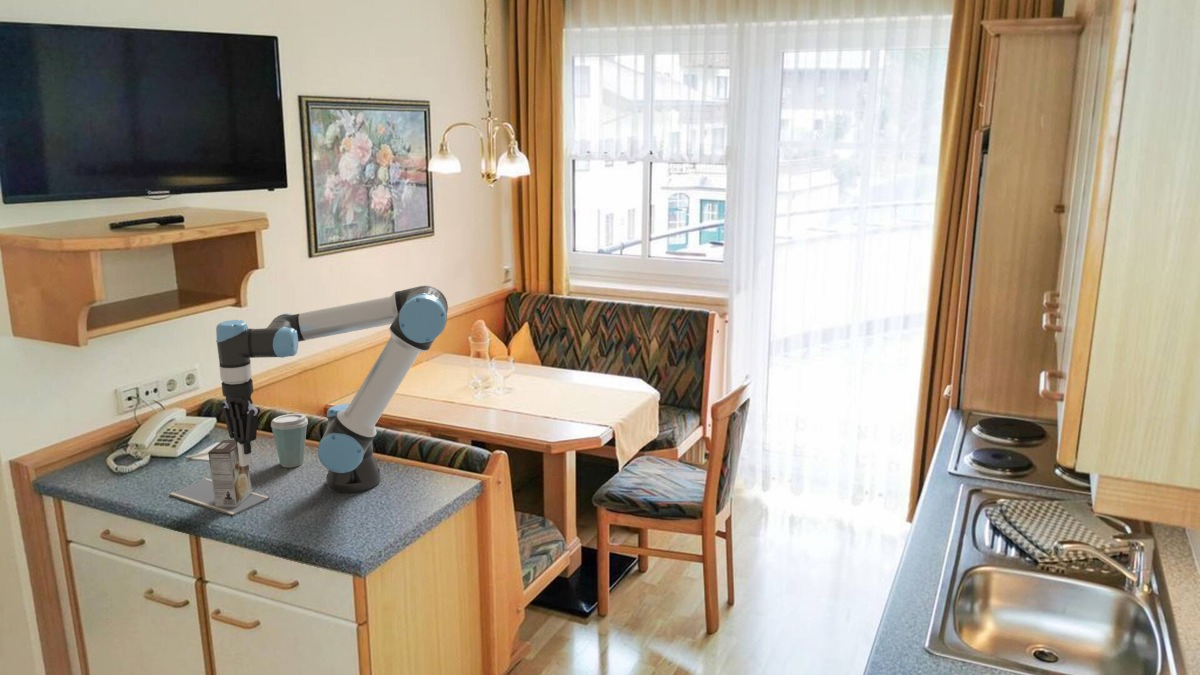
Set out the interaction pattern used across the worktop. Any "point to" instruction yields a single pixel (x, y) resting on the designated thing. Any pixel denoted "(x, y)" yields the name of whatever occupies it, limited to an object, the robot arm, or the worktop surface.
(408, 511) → the worktop surface
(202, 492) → the felt mat
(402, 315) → the robot arm
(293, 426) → the disposable coffee cup
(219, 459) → the coffee box
